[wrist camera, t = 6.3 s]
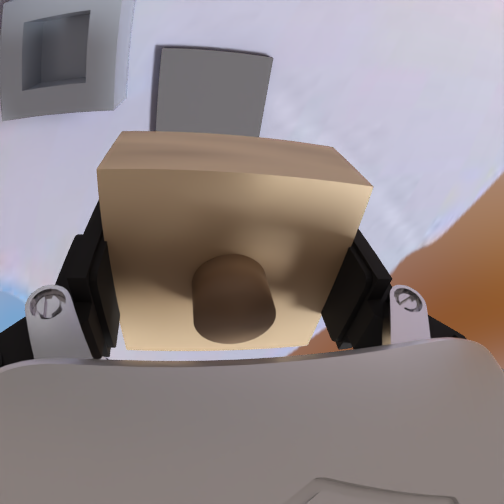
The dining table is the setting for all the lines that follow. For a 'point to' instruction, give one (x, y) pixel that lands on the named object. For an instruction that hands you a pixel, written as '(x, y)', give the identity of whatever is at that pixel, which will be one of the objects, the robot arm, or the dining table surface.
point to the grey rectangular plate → (212, 91)
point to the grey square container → (63, 56)
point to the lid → (225, 237)
